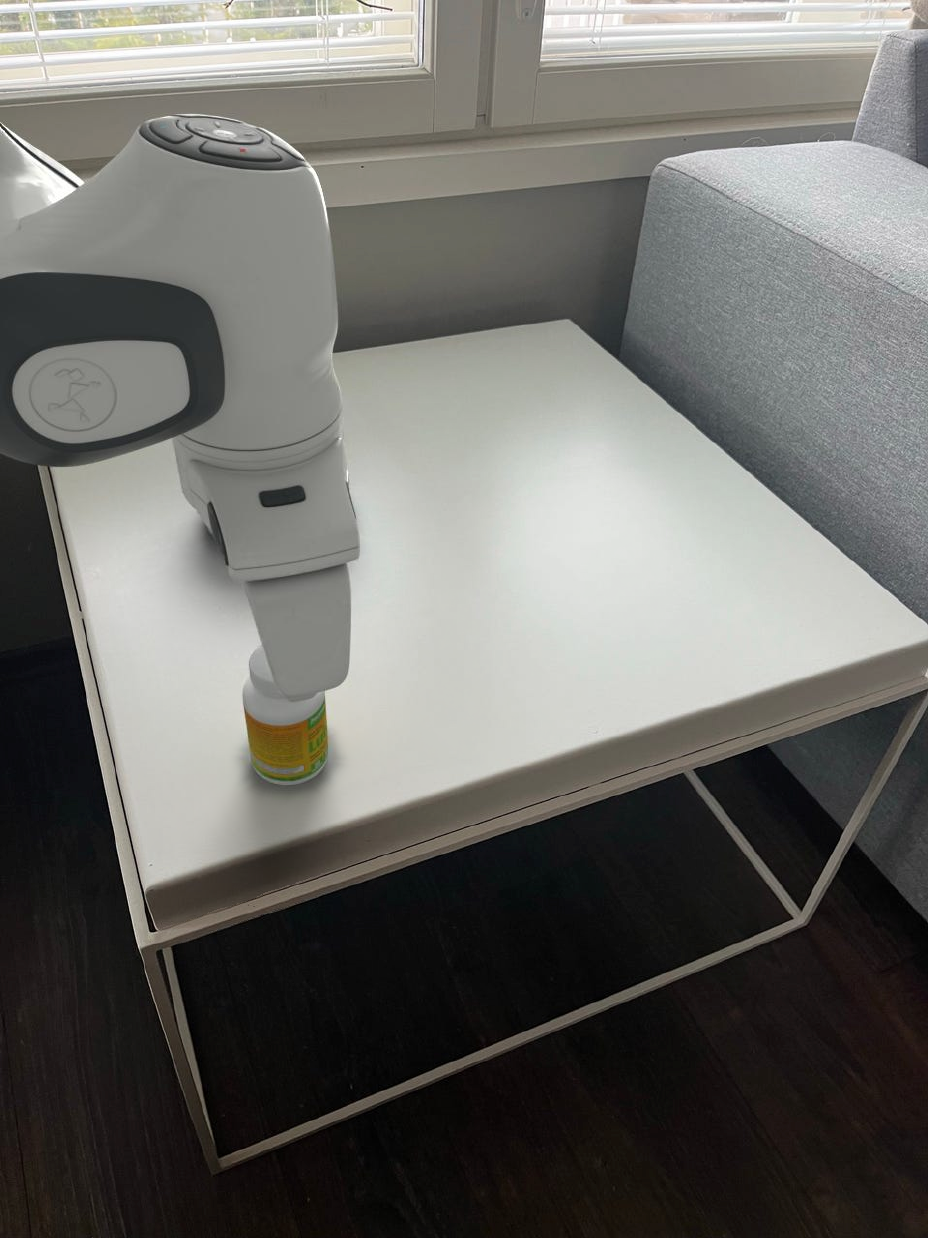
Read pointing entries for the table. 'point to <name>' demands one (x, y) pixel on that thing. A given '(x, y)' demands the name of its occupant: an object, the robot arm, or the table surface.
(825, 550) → the table surface
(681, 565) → the table surface
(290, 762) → the supplement bottle
